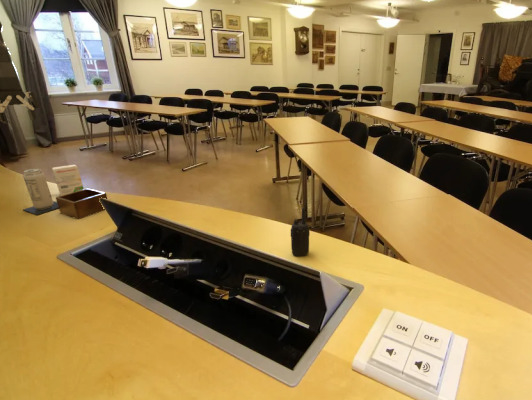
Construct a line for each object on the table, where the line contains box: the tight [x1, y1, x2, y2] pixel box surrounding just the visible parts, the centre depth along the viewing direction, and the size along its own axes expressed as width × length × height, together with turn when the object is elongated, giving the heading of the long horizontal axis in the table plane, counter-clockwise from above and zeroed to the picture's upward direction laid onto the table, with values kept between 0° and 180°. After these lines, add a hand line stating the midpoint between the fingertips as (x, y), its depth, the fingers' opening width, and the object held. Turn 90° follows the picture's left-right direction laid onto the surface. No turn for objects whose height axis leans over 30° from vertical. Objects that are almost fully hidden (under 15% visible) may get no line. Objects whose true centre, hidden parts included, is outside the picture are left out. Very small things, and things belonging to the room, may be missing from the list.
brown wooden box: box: [55, 187, 108, 220], centre depth 123 cm, size 12×12×6 cm
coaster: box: [22, 200, 59, 216], centre depth 125 cm, size 10×10×1 cm
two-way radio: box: [290, 206, 310, 257], centre depth 92 cm, size 6×4×15 cm
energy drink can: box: [22, 168, 54, 210], centre depth 122 cm, size 6×6×15 cm
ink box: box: [51, 164, 85, 196], centre depth 140 cm, size 8×5×12 cm, turn 134°
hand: (19, 121), depth 121 cm, fingers open, 8 cm apart
